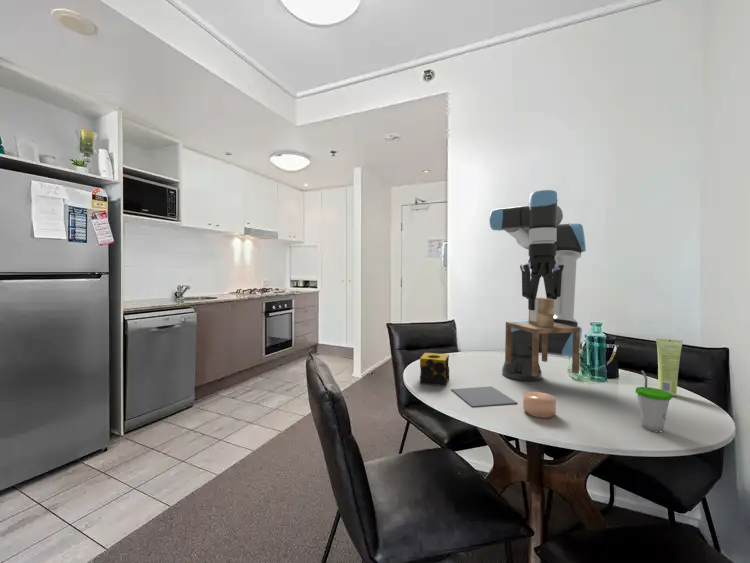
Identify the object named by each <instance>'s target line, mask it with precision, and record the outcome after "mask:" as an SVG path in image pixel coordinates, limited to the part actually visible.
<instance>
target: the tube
mask: <svg viewBox="0 0 750 563" xmlns="http://www.w3.org/2000/svg"><path fill="white" fill-rule="evenodd" d="M655 342H656V347H657V348H656V349H657V365H658V366H657V367H658V368H657V376H658V377H657V378H658V379H657V380H658V381H657V382H658V383H657V384H658V385H657V386H658V387H657V389H660V390H664V391H667V392H669V393H671V394H672V397H676V396H677V391H678V378H679V371H680V370H679V369H680V359H681V355H682V354H681V352H682V348H683V339H681V340H679V339H666V338H665V339H664V338H656V340H655Z"/></svg>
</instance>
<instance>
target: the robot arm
mask: <svg viewBox="0 0 750 563" xmlns="http://www.w3.org/2000/svg"><path fill="white" fill-rule="evenodd" d="M558 202H559V199H558V192H557V191H555V190H553V189H545V190H543V189H542V190H537V191H533V192H531V193H530V195H529V202H528V205H523V206H512V207H511V206H509V207H500V208H495V209H492V210H491V211H490V214H489V227H490V229H491V230H492V231H499V232H500V231H505V232H506V233H507V234H508V235H510V236H511V237H513V238H514V239H515V241H516V243H517V244H518V245H519V246H520V247H521V248H524V249H526V250H528V253H527V254H528V257H529V259H528V262H526V263H524V264H520V265H519V268H520V269H519V270H520V271H521V291H522V292H521V296H522V297H523V298H525V299H527V300H528V301H527V307H528V311H529V310H530V321H535V322H538V300H535V299H536V298H537V297H538V295H537V294H538V291H539V287H540V286H539V284H540V280H541V278H543V284H544V289H545V298H548V299H554V323H559V324H563V325H568V326H573V327H578V328H580V342H582V341H581V340H582V333H583V328H582V327H580V326H578V321H577V320H576V319H575V318H574V316H575V315H574V314H575V296H576V280H577V279H576V278H577V277H576V274H577V260H579V259H580V258H581V257H582V253H585V252H586V251H587V249H586V248H587V247H586V238H585V231H584V226H583V224H581V223H571V222H570V223H562V221H563V218H564V215H563V214H564V213H563V210H562V208H561V207H560V206H559V205H558ZM561 223H562V224H561ZM521 321H529V318H528V319H525V318H524V319H516V320H511V321H510V322H521ZM539 354H542V334H539ZM547 355H554V356H560V357H570V358H571V357H572V356H573V332H571V333H548V353H547ZM501 373H502V376H504V377H506V378H508V379H512V380H514V381H515V380H517V381H523V382H533V381H534V382H536V381H540V380H542V376H543V375H542V374H543V372H542V369H541V366H540V363H539V362H538V376H535V377H534V376H532V333H530V332H527V331H523V330H520V329H516V328H512V327H511V364H506V363H505V361H504V363H503V364H502V368H501Z"/></svg>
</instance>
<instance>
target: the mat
mask: <svg viewBox="0 0 750 563" xmlns="http://www.w3.org/2000/svg"><path fill="white" fill-rule="evenodd" d="M450 391H452V392H453V393H454V394H455V395H456V396H457V397H459V398H460V399H461V400H463V401H464V403H466V404H467V403H468V405H469V406H470V407H471V408H479V407H495V406H503V405H505V406H506V405H507V406H508V405H517V404H518V402H517V401H516V400H515V399H513V398H511V397H509V396H508V395H506V394H505V393H503V392H501V391H500V390H499V389H496V388H495V387H493V386H477V387H465V388H464V387H463V388H462V387H461V388H452V389H450Z"/></svg>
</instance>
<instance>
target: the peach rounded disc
mask: <svg viewBox="0 0 750 563" xmlns="http://www.w3.org/2000/svg"><path fill="white" fill-rule="evenodd" d="M522 397H523V399H522V401H523V402H522V409H523V410H524V411H525V412H526V413H527V414H528V415H529V416H532V417H535V418H540V419H541V418H542V419H548V418H549V419H550V418H551V417H553V416H555V415H556V414H557V398H556V397H555V396H554V395H551V394H549V393H546V392H540V391H527V392H524V393H523V395H522Z"/></svg>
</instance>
